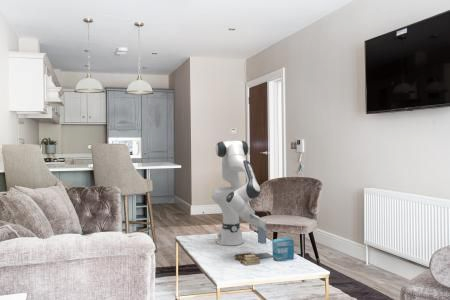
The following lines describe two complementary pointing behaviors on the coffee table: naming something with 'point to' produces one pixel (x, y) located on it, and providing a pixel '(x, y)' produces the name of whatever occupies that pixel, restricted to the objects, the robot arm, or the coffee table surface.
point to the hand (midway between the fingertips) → (262, 228)
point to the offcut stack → (250, 260)
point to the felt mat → (263, 255)
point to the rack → (241, 256)
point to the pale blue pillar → (261, 235)
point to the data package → (283, 249)
